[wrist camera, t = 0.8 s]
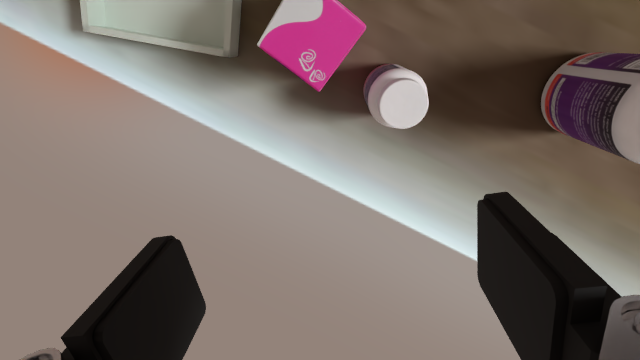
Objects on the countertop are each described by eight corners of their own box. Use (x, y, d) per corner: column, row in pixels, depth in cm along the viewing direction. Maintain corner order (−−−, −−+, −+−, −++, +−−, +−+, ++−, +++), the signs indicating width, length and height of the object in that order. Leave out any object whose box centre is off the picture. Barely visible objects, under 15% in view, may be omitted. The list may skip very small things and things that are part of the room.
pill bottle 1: (356, 106, 36) (361, 126, 28) (372, 57, 34) (382, 62, 26) (403, 120, 36) (421, 144, 28) (421, 72, 34) (447, 82, 26)
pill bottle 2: (569, 146, 37) (701, 207, 23) (519, 101, 35) (628, 138, 22) (638, 85, 34) (830, 115, 21) (586, 33, 32) (758, 28, 19)
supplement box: (279, 42, 34) (252, 43, 24) (313, -12, 32) (301, -38, 22) (325, 77, 35) (319, 94, 25) (361, 27, 33) (371, 21, 23)
